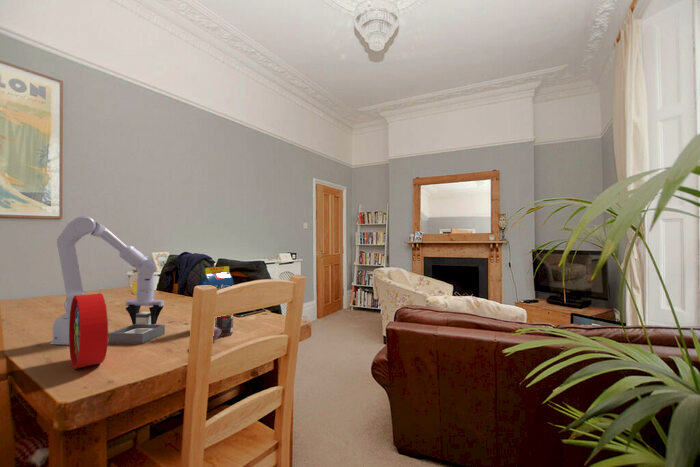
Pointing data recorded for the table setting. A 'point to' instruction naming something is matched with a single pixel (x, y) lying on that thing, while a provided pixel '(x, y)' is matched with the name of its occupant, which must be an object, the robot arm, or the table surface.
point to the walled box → (136, 334)
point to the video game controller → (216, 333)
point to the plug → (143, 318)
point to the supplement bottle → (225, 324)
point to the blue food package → (217, 278)
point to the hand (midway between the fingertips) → (144, 323)
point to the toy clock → (88, 330)
